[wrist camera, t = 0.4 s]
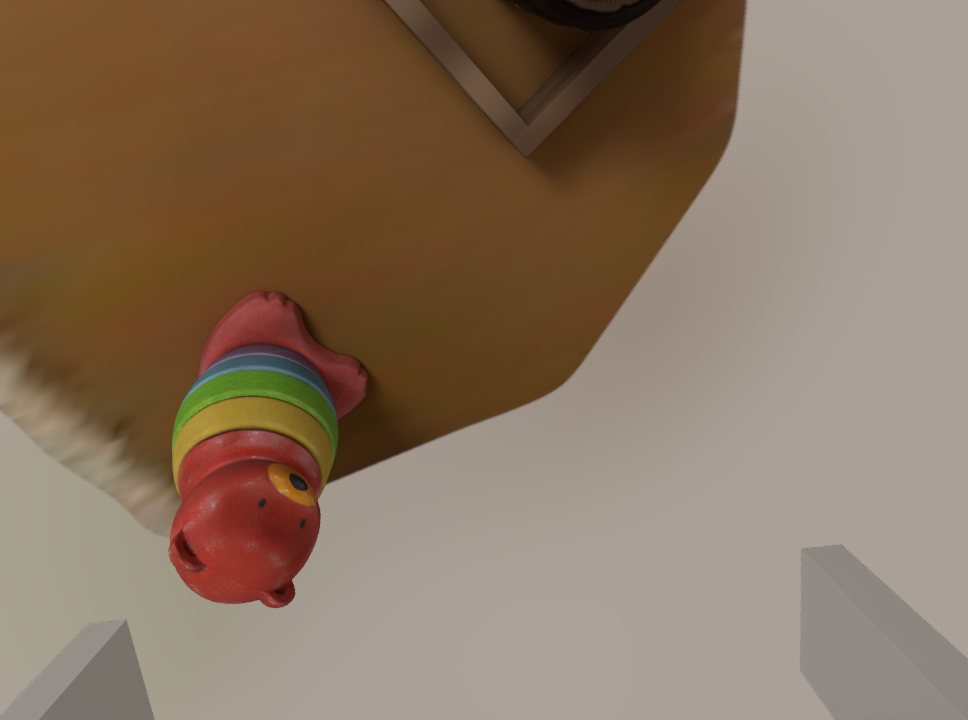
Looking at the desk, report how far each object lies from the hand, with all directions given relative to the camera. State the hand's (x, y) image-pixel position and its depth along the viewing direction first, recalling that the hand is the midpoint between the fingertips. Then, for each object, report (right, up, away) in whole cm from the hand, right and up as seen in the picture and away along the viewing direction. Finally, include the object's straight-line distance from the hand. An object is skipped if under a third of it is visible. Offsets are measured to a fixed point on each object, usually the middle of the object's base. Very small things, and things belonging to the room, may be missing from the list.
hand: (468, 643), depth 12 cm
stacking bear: (-14, +5, +31) cm, 34 cm away
